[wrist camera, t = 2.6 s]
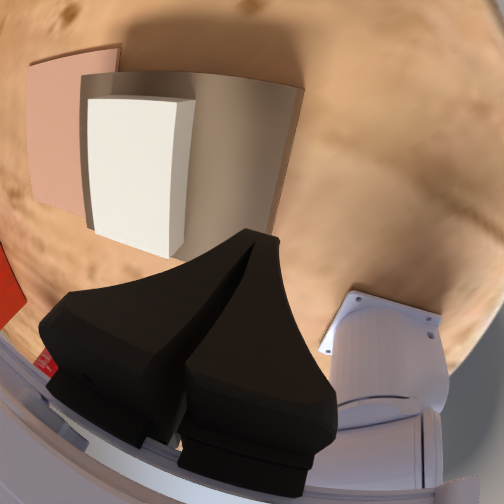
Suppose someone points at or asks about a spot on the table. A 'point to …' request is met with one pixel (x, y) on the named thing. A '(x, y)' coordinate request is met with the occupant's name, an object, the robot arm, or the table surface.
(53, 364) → the soda can
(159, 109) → the tile
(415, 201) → the table surface
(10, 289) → the file binder
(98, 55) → the mat
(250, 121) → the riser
